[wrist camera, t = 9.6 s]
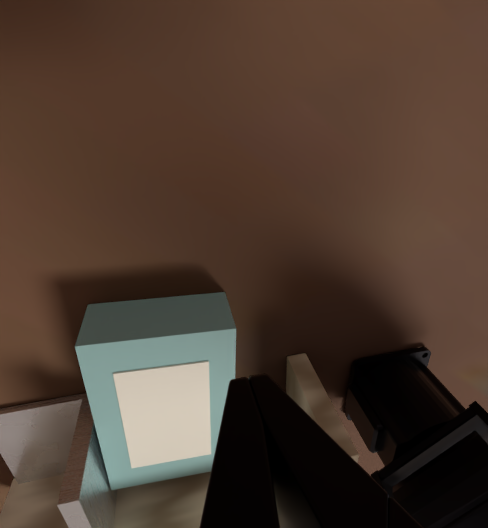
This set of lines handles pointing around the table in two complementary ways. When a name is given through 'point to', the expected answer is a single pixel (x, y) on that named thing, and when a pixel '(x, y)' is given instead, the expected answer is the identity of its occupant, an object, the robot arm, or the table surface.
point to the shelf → (172, 490)
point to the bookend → (60, 456)
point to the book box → (157, 383)
